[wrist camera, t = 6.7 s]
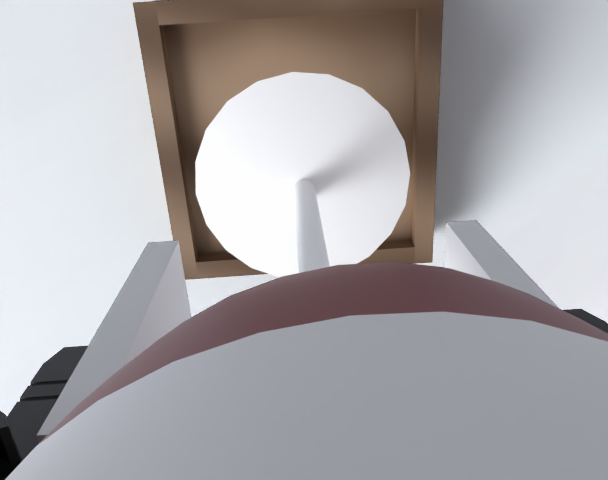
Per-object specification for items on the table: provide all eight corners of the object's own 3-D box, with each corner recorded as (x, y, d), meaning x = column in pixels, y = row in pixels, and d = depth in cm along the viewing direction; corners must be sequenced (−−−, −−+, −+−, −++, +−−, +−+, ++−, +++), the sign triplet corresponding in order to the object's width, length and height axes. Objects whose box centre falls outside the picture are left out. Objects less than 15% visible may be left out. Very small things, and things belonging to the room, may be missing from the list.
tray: (150, 3, 27) (132, 2, 24) (424, -14, 27) (444, -18, 24) (190, 253, 33) (180, 279, 29) (417, 237, 33) (432, 262, 30)
